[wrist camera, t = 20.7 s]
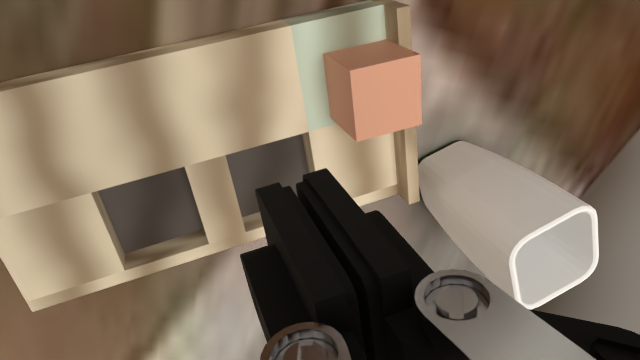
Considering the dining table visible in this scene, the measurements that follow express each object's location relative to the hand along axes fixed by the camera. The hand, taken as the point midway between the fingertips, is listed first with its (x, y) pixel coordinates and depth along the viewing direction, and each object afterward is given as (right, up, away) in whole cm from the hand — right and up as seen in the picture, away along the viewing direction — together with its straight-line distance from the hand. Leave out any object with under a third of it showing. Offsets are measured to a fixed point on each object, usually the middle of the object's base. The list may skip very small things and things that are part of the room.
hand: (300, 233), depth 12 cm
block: (+3, +9, +26) cm, 28 cm away
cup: (+12, +2, +36) cm, 38 cm away
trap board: (-9, +4, +27) cm, 29 cm away
